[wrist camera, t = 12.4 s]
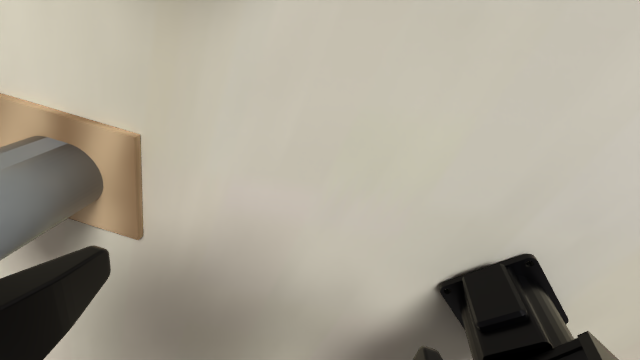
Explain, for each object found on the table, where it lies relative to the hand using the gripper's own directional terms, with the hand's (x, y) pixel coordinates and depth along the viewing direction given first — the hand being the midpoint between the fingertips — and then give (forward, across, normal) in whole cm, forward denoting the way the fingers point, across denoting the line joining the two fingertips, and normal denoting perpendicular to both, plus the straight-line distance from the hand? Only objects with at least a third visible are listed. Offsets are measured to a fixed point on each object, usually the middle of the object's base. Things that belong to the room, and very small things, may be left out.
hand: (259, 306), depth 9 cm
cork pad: (+13, +19, +8) cm, 24 cm away
